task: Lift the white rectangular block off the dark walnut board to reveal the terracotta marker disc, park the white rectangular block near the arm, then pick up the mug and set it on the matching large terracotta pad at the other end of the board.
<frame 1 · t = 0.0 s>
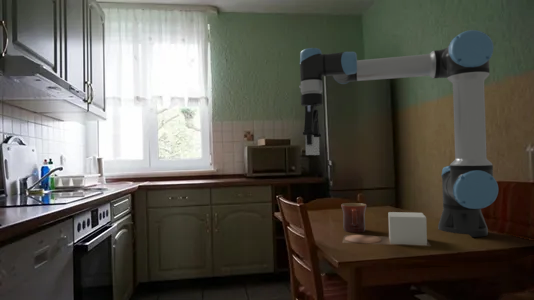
hand: (313, 155, 128), 28 cm above the table, fingers open, 13 cm apart
white rectangular block: (407, 241, 112), point 1 cm above the table, touching board
mug: (354, 235, 129), on the table
board: (384, 244, 114), on the table
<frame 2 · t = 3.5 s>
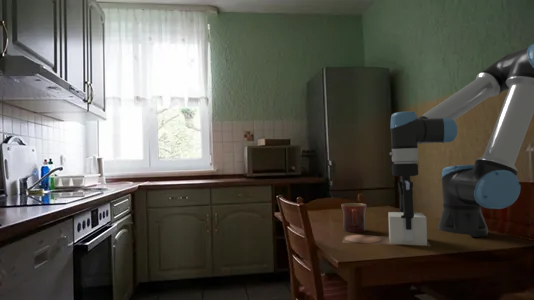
hand: (406, 236, 112), 2 cm above the table, fingers closed on white rectangular block, 9 cm apart
white rectangular block: (407, 241, 112), point 1 cm above the table, touching board, gripper
everything else where it was.
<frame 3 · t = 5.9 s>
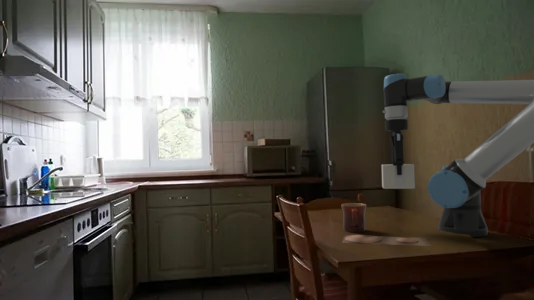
hand: (398, 183, 129), 17 cm above the table, fingers closed on white rectangular block, 9 cm apart
white rectangular block: (397, 187, 129), point 16 cm above the table, touching gripper
everything else where it was.
when the fingers open (3 cm above the table, at t = 8.6 s): white rectangular block drops 1 cm, on the table.
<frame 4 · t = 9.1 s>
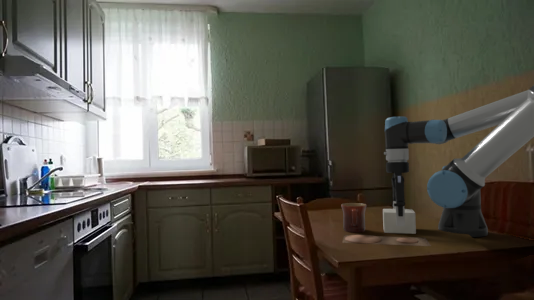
hand: (398, 222, 129), 4 cm above the table, fingers open, 13 cm apart
white rectangular block: (399, 233, 129), on the table
everything else where it was.
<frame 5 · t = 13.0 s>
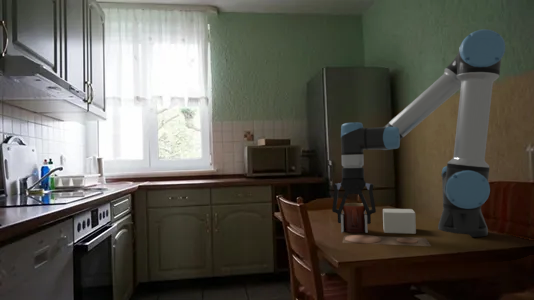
hand: (354, 232, 129), 1 cm above the table, fingers closed on mug, 7 cm apart
mug: (354, 235, 129), on the table, touching gripper
everything else where it was.
when the fingers open (3 cm above the table, at t = 18.2 s): mug stays where it is, resting on board.
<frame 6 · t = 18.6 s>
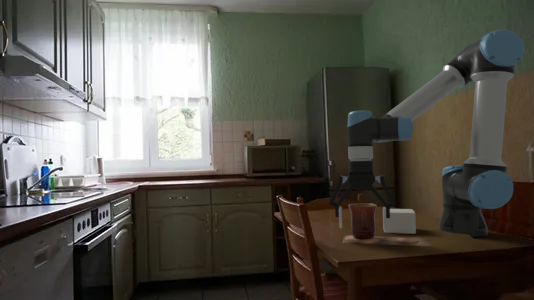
hand: (362, 228, 116), 5 cm above the table, fingers open, 13 cm apart
mug: (363, 239, 116), point 1 cm above the table, touching board
everything else where it was.
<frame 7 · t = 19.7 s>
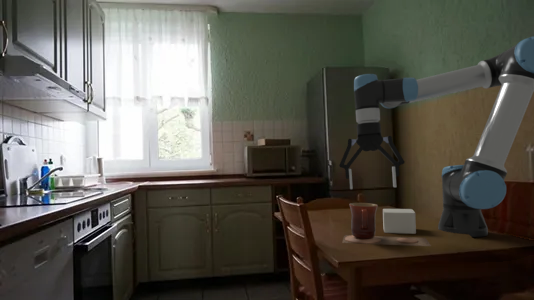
hand: (372, 188, 120), 17 cm above the table, fingers open, 13 cm apart
nothing on the table moved.
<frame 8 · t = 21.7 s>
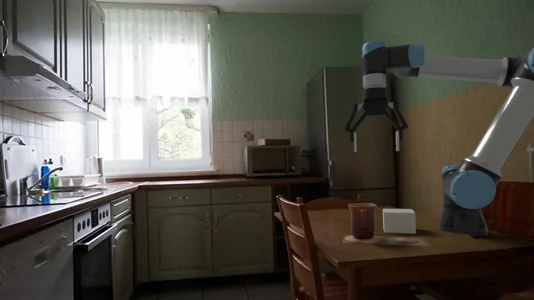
hand: (376, 151, 124), 29 cm above the table, fingers open, 13 cm apart
nothing on the table moved.
at the end: mug 0.2 cm from the target spot on the board, point 1.3 cm above the board's base; mug tilted 0°; white rectangular block moved 16.5 cm from its start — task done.
